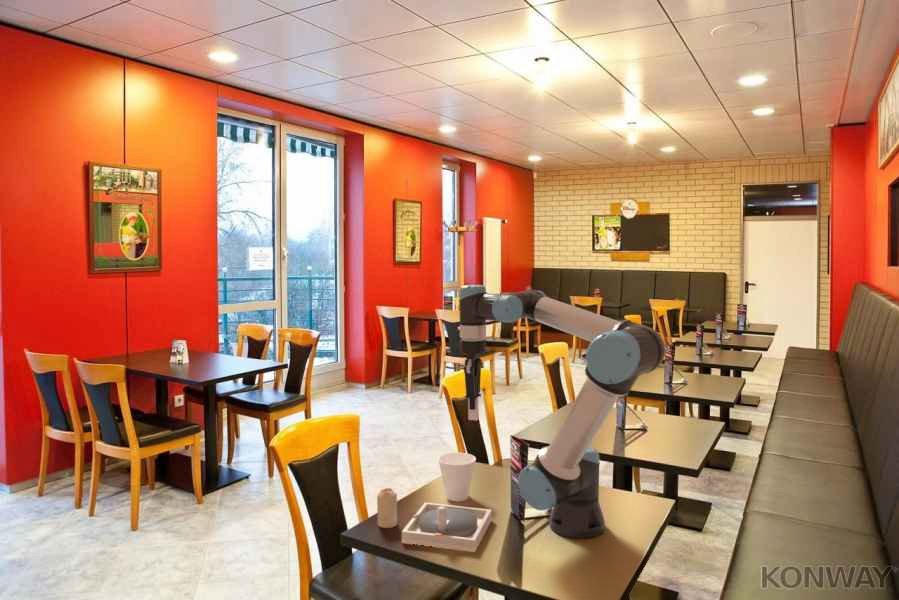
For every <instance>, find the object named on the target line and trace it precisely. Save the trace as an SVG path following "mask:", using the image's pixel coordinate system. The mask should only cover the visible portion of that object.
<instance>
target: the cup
mask: <svg viewBox="0 0 899 600" xmlns="http://www.w3.org/2000/svg"><path fill="white" fill-rule="evenodd" d="M476 460H477V458H476V456H474V454H470V453H466V452H449V453H448V452H447V453H445V454H441V455H439V456H438V458H437V461H438V464H439V469H440V474H441V477H442V482H443V487H444V491H445V493H444V494H445V496H446V499H447V500H449V501H451V502H464V501H467V499H468V498H469V496H470V489H471V487H472V481H473V476H474V471H475V467H476V466H475V465H476Z"/></svg>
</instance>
